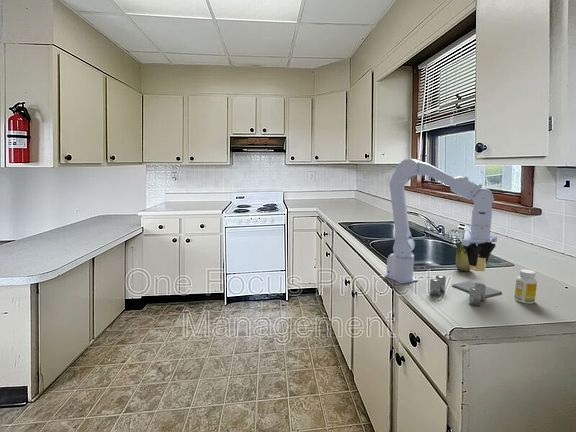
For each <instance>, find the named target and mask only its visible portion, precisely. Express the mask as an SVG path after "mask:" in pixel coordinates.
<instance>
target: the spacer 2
mask: <svg viewBox="0 0 576 432" xmlns="http://www.w3.org/2000/svg"><path fill="white" fill-rule="evenodd" d="M435 279H439V280H440V293H445V292H446V282H447V281H446V279H447V277H446V275H441V274H439V275H435Z"/></svg>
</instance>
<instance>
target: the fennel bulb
mask: <svg viewBox="0 0 576 432" xmlns="http://www.w3.org/2000/svg"><path fill="white" fill-rule="evenodd" d="M455 268H456V269H457V270H459V271H461V272H470V271H471V269H470V265H469V261H468V256H467V253H466V251H465V249H464V247H463V245H462V244H461V241H456V253H455Z"/></svg>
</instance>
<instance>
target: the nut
mask: <svg viewBox="0 0 576 432" xmlns="http://www.w3.org/2000/svg"><path fill="white" fill-rule="evenodd" d="M486 265H487V263H486V257H485V256H481V255H478V260H477V264H476V266H471V265H470V269H471V270H472V271H475V272H485V271H486V267H487V266H486ZM471 270H470V271H471Z"/></svg>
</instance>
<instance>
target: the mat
mask: <svg viewBox="0 0 576 432" xmlns="http://www.w3.org/2000/svg"><path fill="white" fill-rule="evenodd" d="M476 283H477V282H475V281H471V280H468V281H463V282H457V283H454V284H451V286H452V287H453V288H456V289H459V290H461V291H464V292H467V293H469V294H470V288H471V287H475V284H476ZM501 294H503V292H502V291H501V290H497V289H495V288H492V287H489V286H486V288H485V298H489V297H493V296H497V295H501Z"/></svg>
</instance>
